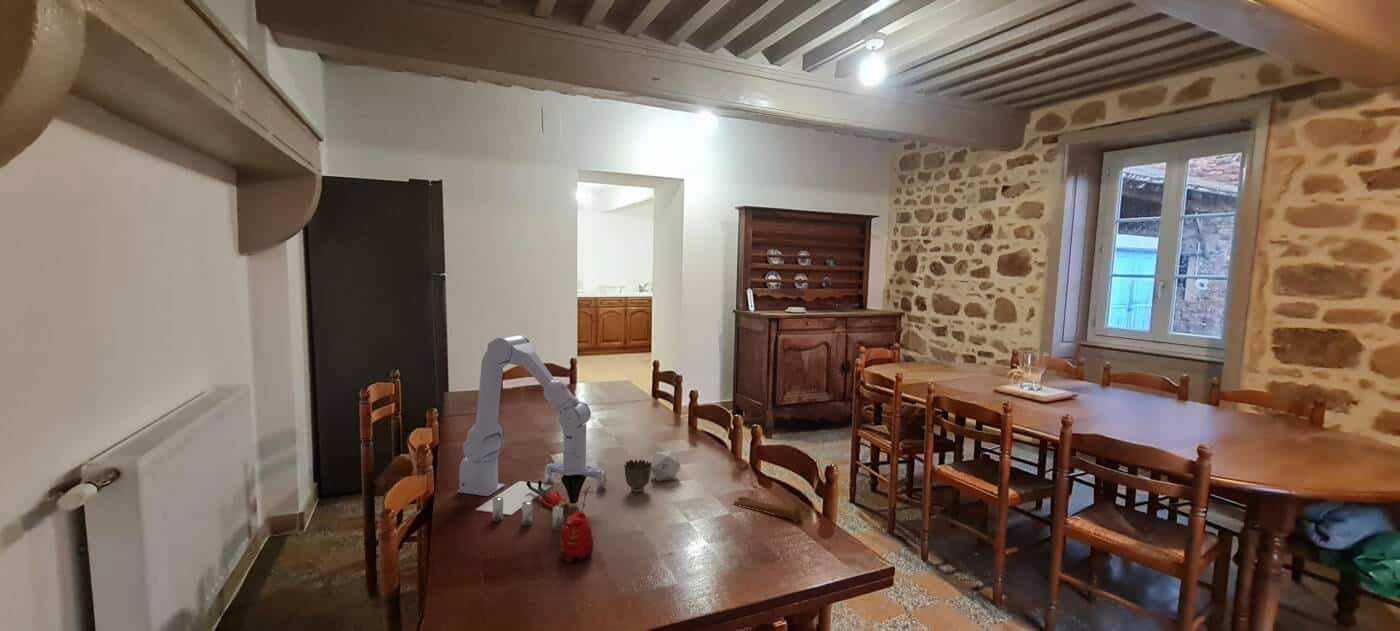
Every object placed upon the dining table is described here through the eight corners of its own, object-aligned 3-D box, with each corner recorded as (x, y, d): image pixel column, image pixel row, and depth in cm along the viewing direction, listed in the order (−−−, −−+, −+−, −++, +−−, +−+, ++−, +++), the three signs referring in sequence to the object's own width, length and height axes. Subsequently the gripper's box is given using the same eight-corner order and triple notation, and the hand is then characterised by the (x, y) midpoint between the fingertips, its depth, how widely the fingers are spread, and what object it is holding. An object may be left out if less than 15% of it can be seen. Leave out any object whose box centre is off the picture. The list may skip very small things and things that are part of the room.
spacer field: (490, 520, 138) (490, 500, 138) (547, 480, 165) (548, 463, 164) (559, 530, 134) (560, 510, 133) (607, 488, 160) (607, 470, 160)
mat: (475, 510, 144) (475, 509, 144) (519, 482, 163) (519, 481, 163) (511, 515, 141) (511, 514, 141) (551, 486, 160) (551, 485, 160)
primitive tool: (729, 505, 152) (730, 492, 152) (740, 498, 157) (741, 486, 157) (795, 526, 141) (796, 512, 141) (805, 518, 146) (805, 505, 145)
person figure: (541, 473, 157) (573, 495, 144) (545, 485, 158) (577, 508, 145) (524, 482, 154) (555, 506, 141) (528, 495, 155) (559, 519, 142)
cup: (646, 498, 154) (646, 469, 153) (620, 495, 156) (620, 466, 155) (654, 488, 161) (654, 460, 161) (628, 485, 163) (629, 457, 162)
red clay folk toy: (557, 550, 125) (557, 483, 124) (589, 545, 128) (590, 479, 126) (562, 567, 118) (563, 496, 117) (596, 561, 121) (597, 492, 119)
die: (643, 480, 169) (649, 461, 163) (655, 458, 176) (661, 439, 170) (668, 492, 168) (675, 473, 162) (679, 470, 175) (686, 451, 169)
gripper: (541, 452, 145) (540, 504, 146) (594, 458, 141) (593, 512, 142) (554, 444, 151) (554, 494, 153) (605, 450, 148) (605, 501, 149)
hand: (574, 502), depth 148 cm, fingers closed
